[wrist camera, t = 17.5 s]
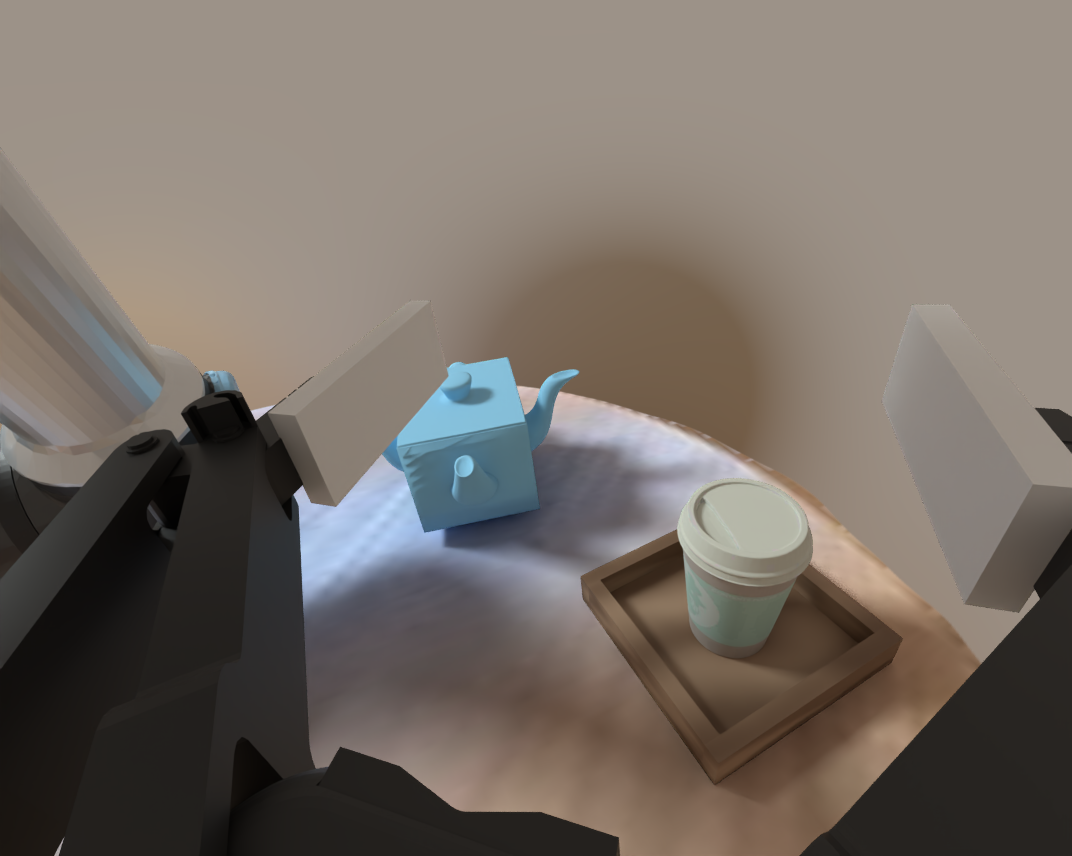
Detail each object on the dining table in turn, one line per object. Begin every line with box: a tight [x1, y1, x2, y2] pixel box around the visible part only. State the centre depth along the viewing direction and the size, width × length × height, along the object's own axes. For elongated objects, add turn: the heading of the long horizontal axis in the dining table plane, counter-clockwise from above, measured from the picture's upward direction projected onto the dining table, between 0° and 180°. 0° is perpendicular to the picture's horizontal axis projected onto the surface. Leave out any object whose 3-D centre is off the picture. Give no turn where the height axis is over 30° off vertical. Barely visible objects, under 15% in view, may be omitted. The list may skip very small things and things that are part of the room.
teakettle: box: [382, 357, 579, 532], centre depth 55 cm, size 19×19×15 cm
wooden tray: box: [581, 530, 903, 785], centre depth 41 cm, size 16×16×3 cm
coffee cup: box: [677, 478, 813, 658], centre depth 37 cm, size 8×8×12 cm
